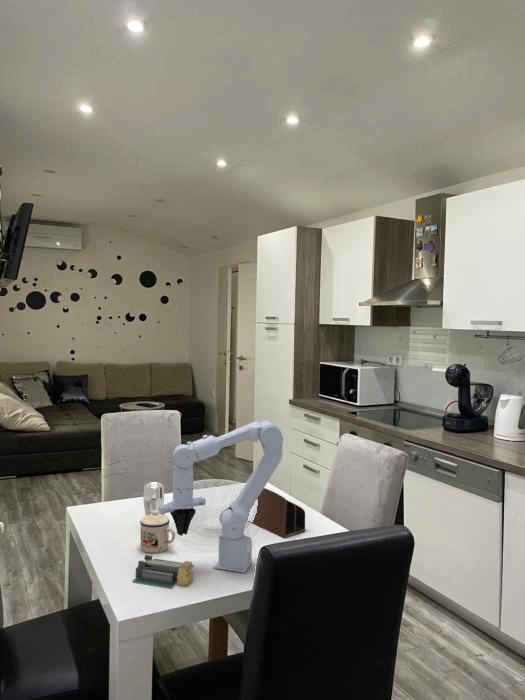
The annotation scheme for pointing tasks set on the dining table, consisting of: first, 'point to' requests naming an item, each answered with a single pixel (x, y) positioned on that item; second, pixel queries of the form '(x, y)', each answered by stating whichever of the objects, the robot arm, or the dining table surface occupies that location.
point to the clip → (185, 574)
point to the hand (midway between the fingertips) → (182, 533)
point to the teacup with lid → (155, 533)
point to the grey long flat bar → (165, 564)
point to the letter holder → (279, 515)
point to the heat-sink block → (158, 576)
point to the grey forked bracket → (142, 566)
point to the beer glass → (153, 497)
